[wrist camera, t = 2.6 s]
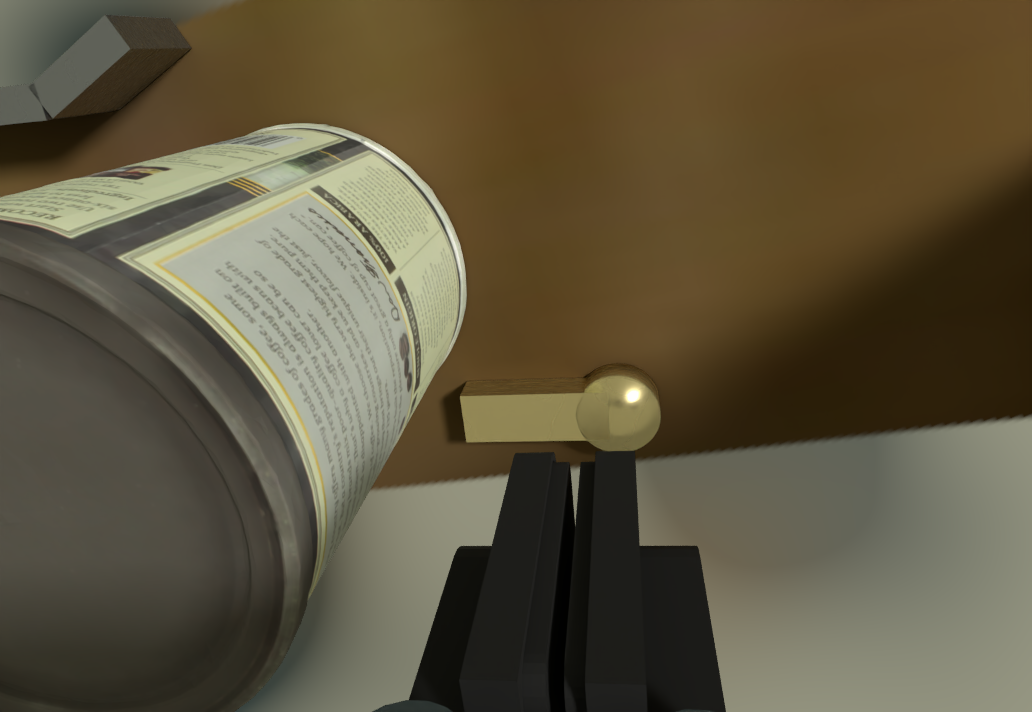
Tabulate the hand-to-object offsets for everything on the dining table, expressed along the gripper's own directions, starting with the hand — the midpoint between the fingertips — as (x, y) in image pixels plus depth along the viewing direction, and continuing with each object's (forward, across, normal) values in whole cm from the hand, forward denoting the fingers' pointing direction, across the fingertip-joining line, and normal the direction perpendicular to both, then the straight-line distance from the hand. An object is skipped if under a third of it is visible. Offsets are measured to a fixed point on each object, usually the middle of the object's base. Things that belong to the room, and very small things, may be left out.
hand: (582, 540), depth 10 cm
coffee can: (+15, +9, 0) cm, 17 cm away
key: (+14, +2, +5) cm, 15 cm away
